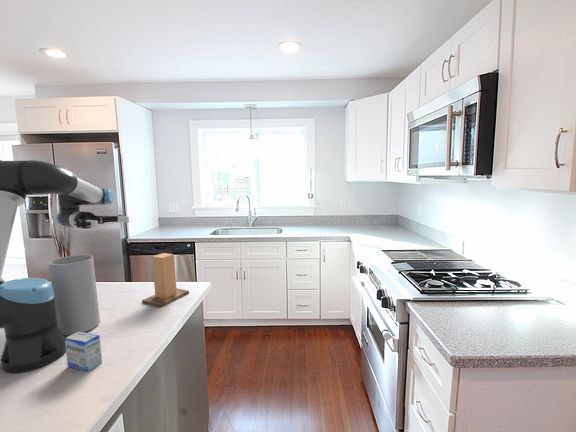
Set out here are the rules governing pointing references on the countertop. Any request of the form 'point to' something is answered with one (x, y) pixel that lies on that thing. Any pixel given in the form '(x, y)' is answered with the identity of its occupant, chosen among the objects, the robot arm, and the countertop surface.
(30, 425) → the countertop surface
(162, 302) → the post board
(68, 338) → the medicine box
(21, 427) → the countertop surface
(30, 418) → the countertop surface
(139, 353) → the countertop surface
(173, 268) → the tall wooden block
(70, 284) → the cylinder vase
